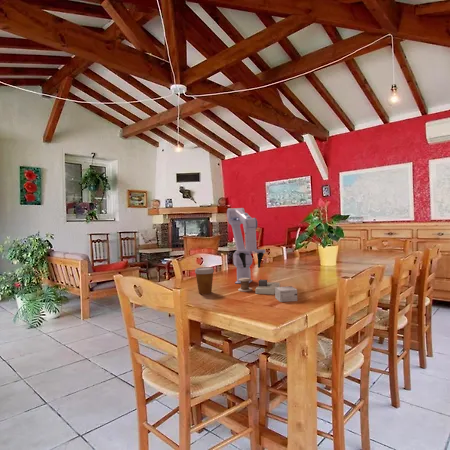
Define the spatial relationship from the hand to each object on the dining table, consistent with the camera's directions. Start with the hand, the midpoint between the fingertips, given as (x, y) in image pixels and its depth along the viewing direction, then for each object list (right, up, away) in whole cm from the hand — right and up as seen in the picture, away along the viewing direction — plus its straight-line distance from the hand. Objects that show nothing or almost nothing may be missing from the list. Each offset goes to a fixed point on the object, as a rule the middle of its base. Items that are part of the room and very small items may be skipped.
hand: (251, 267), depth 172 cm
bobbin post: (-4, -11, -5) cm, 13 cm away
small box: (+13, -11, -27) cm, 32 cm away
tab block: (+5, -10, -7) cm, 14 cm away
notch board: (+7, -10, -8) cm, 15 cm away
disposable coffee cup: (-24, -12, -8) cm, 28 cm away
